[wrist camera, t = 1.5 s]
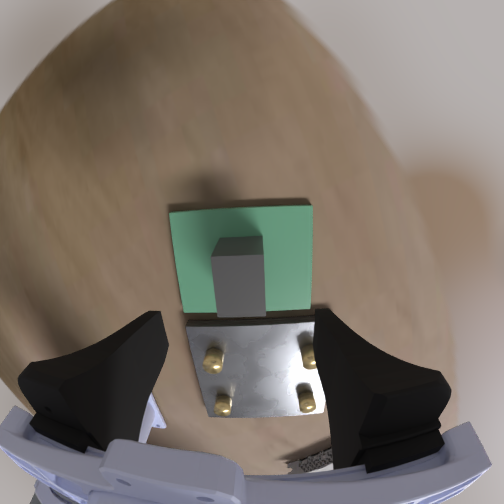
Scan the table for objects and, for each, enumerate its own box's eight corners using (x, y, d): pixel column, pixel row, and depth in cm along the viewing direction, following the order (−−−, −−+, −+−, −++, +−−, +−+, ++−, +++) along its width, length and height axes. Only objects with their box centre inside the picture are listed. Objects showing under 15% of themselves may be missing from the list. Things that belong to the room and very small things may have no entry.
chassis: (209, 410, 26) (206, 427, 24) (188, 320, 22) (181, 337, 20) (321, 405, 25) (325, 423, 23) (333, 313, 22) (340, 330, 19)
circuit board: (186, 306, 22) (170, 341, 18) (173, 210, 20) (148, 226, 15) (308, 302, 22) (319, 338, 17) (309, 203, 19) (326, 217, 15)
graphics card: (349, 453, 25) (402, 481, 31) (344, 433, 28) (398, 468, 34) (283, 478, 27) (356, 501, 33) (282, 459, 31) (353, 488, 36)
